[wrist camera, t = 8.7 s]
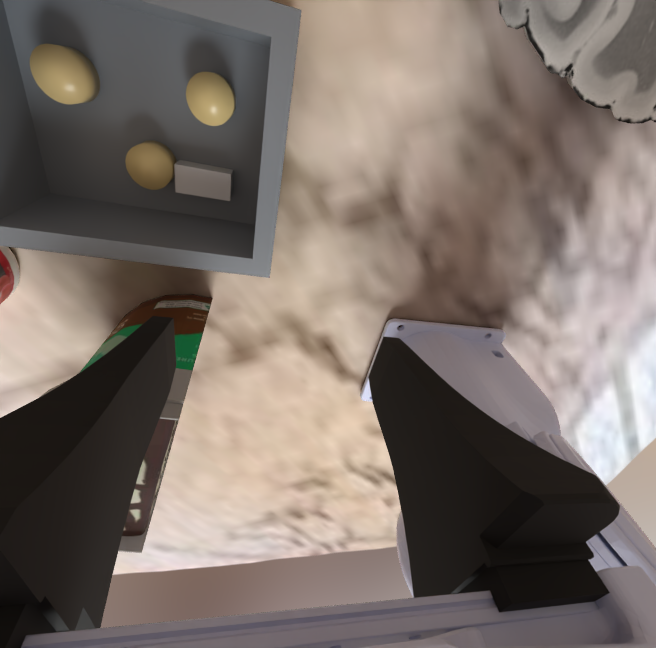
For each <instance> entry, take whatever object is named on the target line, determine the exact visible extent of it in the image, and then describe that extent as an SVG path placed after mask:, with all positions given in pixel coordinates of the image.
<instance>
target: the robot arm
mask: <svg viewBox="0 0 656 648" xmlns="http://www.w3.org/2000/svg"><path fill="white" fill-rule="evenodd" d="M400 325H402V327H400V328H397V327H398V326H400ZM486 334H488V335H486ZM485 335H486V336H485ZM505 337H506V333H505V332H504V331H503V330H501V329H493V328H483V327H473V326H463V325H453V324H444V323H434V322H424V321H414V320H404V319H390V320H389V321H388V322H387V323H386V325H385V328H384V331H383V333H382V336H381V339H380V342H379V344H378V347H377V350H376V353H375V355H374V358H373V361H372V364H371V366H370V369H369V372H368V374H367V377H366V380H365V383H364V385H363V388H362V391H361V394H360V396H361V399H362V400H363V401H373V405H374V408H375V411H376V414H377V418H378V421H379V424H380V427H381V430H382V433H383V436H384V439H385V443H386V446H387V449H388V452H389V455H390V459H391V462H392V466H393V470H394V475H395V480H396V484H397V489H398V494H399V500H400V505H401V512H400V514H399V517H398V521H397V551H398V557H399V561H400V565H401V569H402V572H403V575H404V578H405V581H406V583H407V586H408V588H409V590H410V592H411V594H412V596H413V598H408V599H398V600H387V601H377V602H366V603H356V604H347V605H335V606H325V607H315V608H304V609H295V610H285V611H273V612H263V613H252V614H242V615H232V616H221V617H212V618H201V619H191V620H180V621H170V622H159V623H149V624H139V625H129V626H119V627H108V628H100V626H101V622H102V617H103V612H104V609H105V604H106V600H107V596H108V591H109V587H110V583H111V578H112V574H113V570H114V566H115V562H116V558H117V554H118V550H119V546H120V542H121V538H122V534H123V530H124V526H125V522H126V519H127V515H128V511H129V507H130V504H131V500H132V496H133V493H134V489H135V486H136V482H137V478H138V475H139V471H140V468H141V465H142V462H143V459H144V456H145V454H146V451H147V449H148V446H149V444H150V441H151V439H152V436H153V434H154V431H155V429H156V426H157V423H158V421H159V418H160V416H161V413H162V411H163V408H164V406H165V403H166V401H167V398H168V396H169V393H170V389H171V385H172V382H173V378H174V373H175V369H176V350H175V333H174V318H171V317H160V316H152V317H151V318H149V319H148V320H147V321H146V322H145V323H143V324H142V325H141V326H140V327H139V328H137V329H136V330H135V331H134V332H133V333H131V334H130V335H129V336H128V337H127V338H125V339H124V340H123V341H122V342H120V343H119V344H118V345H117V346H115V347H114V348H113V349H112V350H110V351H109V352H108V353H106V354H105V355H104V356H102V357H101V358H100V359H98V360H97V361H96V362H94V363H93V364H91V365H90V366H89V367H87V368H86V369H84V370H83V371H81V372H80V373H79V374H77V375H76V376H74V377H73V378H71V379H70V380H68V381H66V382H65V383H63V384H62V385H60V386H58V387H57V388H55V389H53V390H52V391H50V392H48V393H47V394H45V395H43V396H41V397H40V398H38V399H36V400H34V401H32V402H30V403H28V404H26V405H25V406H23V407H21V408H19V409H17V410H15V411H13V412H11V413H9V414H7V415H5V416H3V417H1V418H0V648H656V548H655V546H654V545H653V544H652V542H651V541H650V540H649V539H648V537H647V536H646V535H645V533H644V532H643V531H642V530H641V528H640V527H639V526H638V524H637V523H636V522H635V521H634V519H633V518H632V517H631V516H630V514H629V513H628V512H627V511H626V510H625V508H624V507H623V506H622V505H621V504H620V502H619V501H618V500H617V499H616V497H615V496H614V495H613V494H612V493H611V491H610V490H609V489H608V488H607V486H606V485H605V484H604V483H603V482H602V480H601V479H600V478H599V477H598V476H597V475H596V473H595V472H594V471H593V470H592V469H591V468H590V466H589V465H588V464H587V463H586V462H585V461H584V459H583V458H582V457H581V456H580V455H579V454H578V453H577V451H576V450H575V449H574V448H573V447H572V446H571V445H570V444H569V443H568V442H567V441H566V440H565V439H564V438H563V437H562V436H561V432H560V425H559V421H558V417H557V414H556V412H555V410H554V407H553V406H552V404H551V402H550V401H549V399H548V398H547V397H546V395H545V394H544V393H543V392H542V391H541V389H540V388H539V387H538V386H537V385H536V384H535V383H534V381H533V380H532V379H531V378H530V377H529V376H528V374H527V373H526V372H525V371H524V370H523V369H522V367H521V366H520V365H519V364H518V363H517V362H516V360H515V359H514V358H513V357H512V356H511V355H510V353H509V352H508V351H507V350H506V349H505V348H504V347H503V345H502V344H501V343H502V342H503V340H504V339H505Z"/></svg>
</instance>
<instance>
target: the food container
mask: <svg viewBox="0 0 656 648" xmlns="http://www.w3.org/2000/svg"><path fill="white" fill-rule="evenodd" d="M212 299H213V298H208V297H203V296H198V295H165V296H162V297H159V298H156V299H152V300H149V301H146V302H143V303H141V304H140V305H139V306H137V307H136V308H135V309H133V310H132V311H131V312H129V313H128V314H127V315H126V316H125V317H124V318H123V319H122V321H121V322H120V323H119V324H118V326H117V327H116V328H115V329H114V331H113V332H112V333H111V334H110V336H109V337H108V338H107V339H106V341H105V342H104V343H103V344H102V345H101V347H100V348H99V349H98V350H97V352H96V353H95V354H94V355H93V357H92V358H91V359H90V360H89V362H88V363H87V364H86V365H85V367H84V368H83V369H82V370H81V371H83V370H84V369H86V368H87V367H89V366H90V365H91V364H93V363H94V362H96V361H97V360H98V359H100V358H101V357H102V356H104V355H105V354H106V353H108V352H109V351H110V350H112V349H113V348H114V347H115V346H117V345H118V344H119V343H120V342H122V341H123V340H124V339H125V338H127V337H128V336H129V335H130V334H131V333H133V332H134V331H135V330H136V329H137V328H139V327H140V326H141V325H142V324H143V323H145V322H146V321H147V320H148V319H149V318H151V317H152V316H160V317H171V318H174V333H175V350H176V369H175V373H174V378H173V382H172V385H171V389H170V393H169V396H168V398H167V401H166V403H165V406H164V408H163V411H162V413H161V416H160V418H159V421H158V423H157V426H156V429H155V431H154V434H153V436H152V439H151V441H150V444H149V446H148V449H147V451H146V454H145V456H144V459H143V462H142V465H141V468H140V471H139V475H138V478H137V482H136V486H135V489H134V493H133V496H132V500H131V504H130V507H129V511H128V515H127V519H126V522H125V526H124V530H123V534H122V538H121V542H120V546H119V550H118V551H121V552H134V553H142V549H143V546H144V542H145V539H146V535H147V531H148V528H149V524H150V521H151V517H152V513H153V510H154V506H155V503H156V499H157V495H158V492H159V488H160V485H161V481H162V478H163V474H164V470H165V467H166V463H167V460H168V456H169V452H170V449H171V445H172V442H173V438H174V435H175V431H176V427H177V424H178V420H179V417H180V414H181V410H182V407H183V403H184V399H185V396H186V392H187V389H188V385H189V381H190V378H191V374H192V371H193V367H194V363H195V360H196V356H197V353H198V349H199V345H200V342H201V338H202V335H203V331H204V327H205V324H206V320H207V317H208V313H209V309H210V306H211V302H212ZM67 381H68V380H67ZM65 382H66V381H65ZM65 382H63V383H65ZM63 383H61V384H60V385H62V384H63ZM60 385H58V386H60ZM58 386H56V387H54V388H52V389H50V390H48V391H47V392H46V393H45V394H47V393H48V392H50V391H52V390H53V389H55V388H57V387H58ZM45 394H43V395H45ZM43 395H42V396H43ZM39 398H40V397H39Z"/></svg>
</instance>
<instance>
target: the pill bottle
mask: <svg viewBox="0 0 656 648" xmlns="http://www.w3.org/2000/svg"><path fill="white" fill-rule="evenodd" d="M19 278H20V272H19V265H18V262H17V260H16V258H15V256H14V254H13V253H12V251H11V250H10V249H9V247H7V246H0V304H1V303H2V302H3V301H4V300H5V299H6V298H8V297H9V296H10V295H11V294H12V293H13V292H14V291H15V289H16V288H17V286H18V283H19Z"/></svg>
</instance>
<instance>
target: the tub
mask: <svg viewBox="0 0 656 648" xmlns="http://www.w3.org/2000/svg"><path fill="white" fill-rule="evenodd" d="M300 18H301V10H300V9H296V8H293V7H290V6H286V5H283V4H280V3H276V2H273V1H270V0H0V246H7V247H15V248H23V249H32V250H40V251H49V252H57V253H65V254H74V255H82V256H91V257H99V258H107V259H116V260H124V261H133V262H141V263H149V264H158V265H166V266H175V267H183V268H192V269H200V270H208V271H217V272H225V273H234V274H242V275H250V276H259V277H267V278H270V270H271V262H272V253H273V245H274V237H275V228H276V220H277V211H278V203H279V195H280V186H281V178H282V169H283V161H284V153H285V144H286V136H287V128H288V119H289V111H290V102H291V94H292V86H293V77H294V69H295V60H296V52H297V44H298V35H299V27H300Z"/></svg>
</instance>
